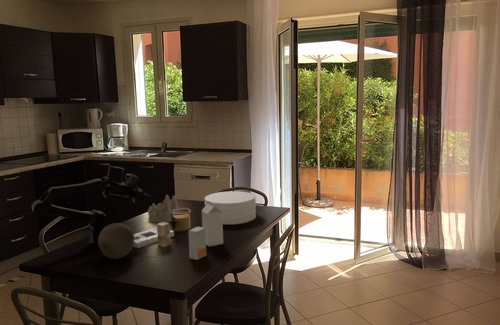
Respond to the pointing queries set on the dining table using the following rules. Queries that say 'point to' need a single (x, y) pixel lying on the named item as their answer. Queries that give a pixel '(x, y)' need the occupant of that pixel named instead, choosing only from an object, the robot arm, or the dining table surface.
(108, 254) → the cantaloupe
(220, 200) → the plate stack
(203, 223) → the milk carton
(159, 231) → the wooden peg
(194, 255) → the skincare box
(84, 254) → the dining table surface
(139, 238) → the white flat tray
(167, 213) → the ceramic cottage
